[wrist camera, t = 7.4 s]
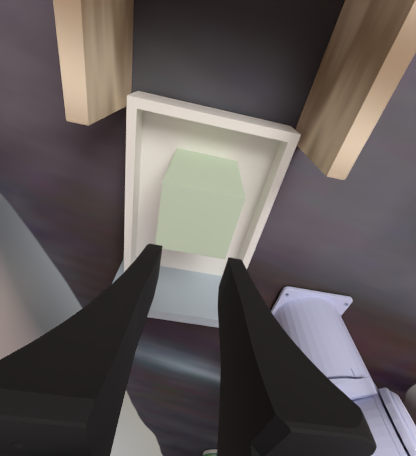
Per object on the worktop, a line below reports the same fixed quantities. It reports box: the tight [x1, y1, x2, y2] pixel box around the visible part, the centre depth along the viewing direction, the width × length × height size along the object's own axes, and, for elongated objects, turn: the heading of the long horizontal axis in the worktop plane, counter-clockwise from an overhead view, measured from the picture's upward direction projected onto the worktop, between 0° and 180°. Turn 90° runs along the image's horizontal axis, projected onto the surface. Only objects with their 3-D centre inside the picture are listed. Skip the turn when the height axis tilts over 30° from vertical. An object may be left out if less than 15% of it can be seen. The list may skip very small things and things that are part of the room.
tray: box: [113, 91, 301, 327], centre depth 19 cm, size 16×12×6 cm
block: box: [155, 148, 245, 259], centre depth 17 cm, size 4×4×6 cm
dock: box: [53, 0, 416, 180], centre depth 12 cm, size 10×14×7 cm
